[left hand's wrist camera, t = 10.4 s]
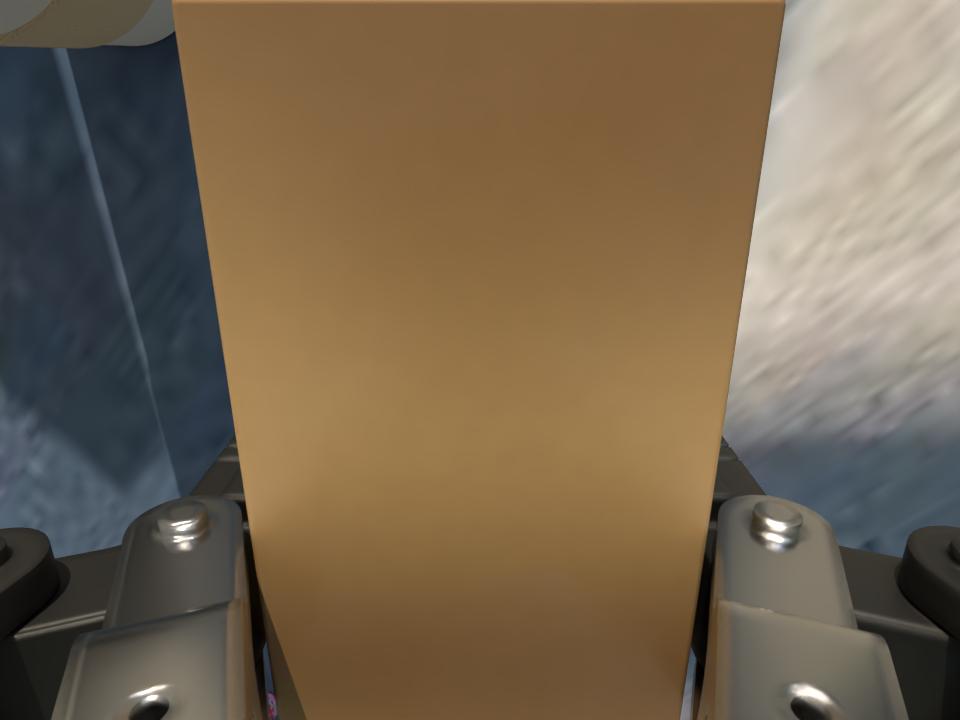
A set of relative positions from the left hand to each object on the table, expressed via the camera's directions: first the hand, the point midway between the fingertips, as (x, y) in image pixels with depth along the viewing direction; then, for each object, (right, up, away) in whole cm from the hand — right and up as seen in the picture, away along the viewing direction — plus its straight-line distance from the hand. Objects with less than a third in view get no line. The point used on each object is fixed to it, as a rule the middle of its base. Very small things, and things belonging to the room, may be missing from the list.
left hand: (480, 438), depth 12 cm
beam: (0, -21, +10) cm, 24 cm away
